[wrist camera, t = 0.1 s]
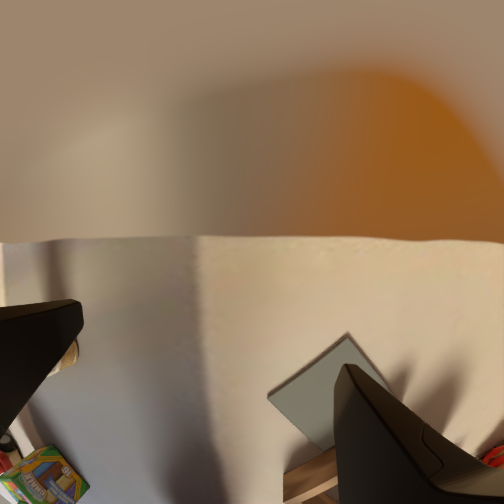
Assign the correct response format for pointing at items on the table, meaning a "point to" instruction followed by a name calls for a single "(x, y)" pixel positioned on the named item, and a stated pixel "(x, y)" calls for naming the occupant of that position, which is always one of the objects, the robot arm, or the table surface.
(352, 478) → the robot arm
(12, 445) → the toy fire truck
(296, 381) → the mat
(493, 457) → the dragon fruit
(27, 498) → the chalk box
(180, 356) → the table surface
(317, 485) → the wooden u-shaped frame
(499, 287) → the table surface
